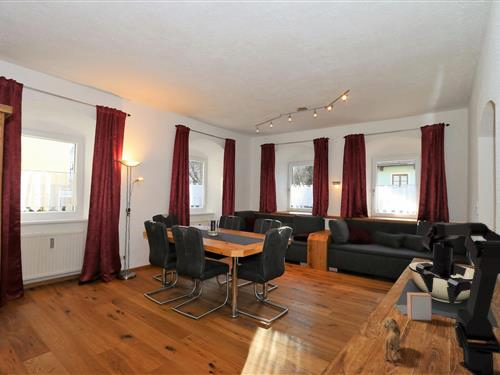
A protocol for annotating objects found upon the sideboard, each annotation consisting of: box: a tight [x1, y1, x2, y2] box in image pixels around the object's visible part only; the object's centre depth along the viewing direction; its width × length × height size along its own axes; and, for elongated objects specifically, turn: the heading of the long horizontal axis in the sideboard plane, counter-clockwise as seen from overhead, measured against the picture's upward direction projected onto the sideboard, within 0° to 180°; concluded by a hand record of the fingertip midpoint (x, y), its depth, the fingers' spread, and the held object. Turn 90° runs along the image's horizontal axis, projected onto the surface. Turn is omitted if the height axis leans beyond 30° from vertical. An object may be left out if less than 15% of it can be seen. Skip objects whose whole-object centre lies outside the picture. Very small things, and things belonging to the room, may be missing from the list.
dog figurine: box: [381, 317, 401, 365], centre depth 89 cm, size 15×5×9 cm, turn 156°
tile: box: [406, 292, 433, 322], centre depth 114 cm, size 3×8×10 cm, turn 84°
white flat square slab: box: [393, 304, 408, 316], centre depth 122 cm, size 10×10×1 cm
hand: (440, 298), depth 102 cm, fingers open, 9 cm apart
